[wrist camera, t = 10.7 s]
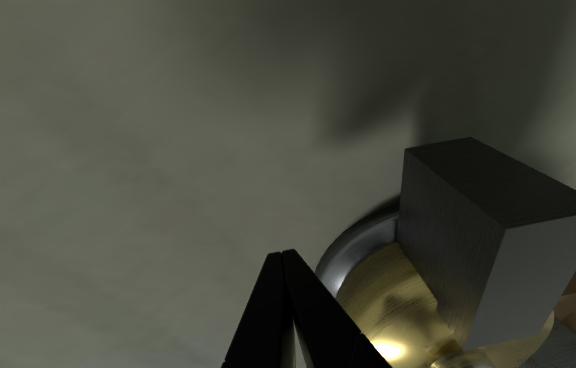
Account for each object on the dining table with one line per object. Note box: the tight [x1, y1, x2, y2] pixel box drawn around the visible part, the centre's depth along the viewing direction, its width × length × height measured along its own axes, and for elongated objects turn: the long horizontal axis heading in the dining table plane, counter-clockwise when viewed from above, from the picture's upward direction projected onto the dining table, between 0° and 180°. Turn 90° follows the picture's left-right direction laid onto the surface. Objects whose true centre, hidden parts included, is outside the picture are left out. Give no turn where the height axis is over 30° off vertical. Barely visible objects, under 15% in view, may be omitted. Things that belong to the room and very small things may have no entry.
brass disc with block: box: [335, 137, 576, 368], centre depth 11 cm, size 13×8×4 cm
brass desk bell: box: [315, 204, 496, 368], centre depth 13 cm, size 10×10×6 cm
